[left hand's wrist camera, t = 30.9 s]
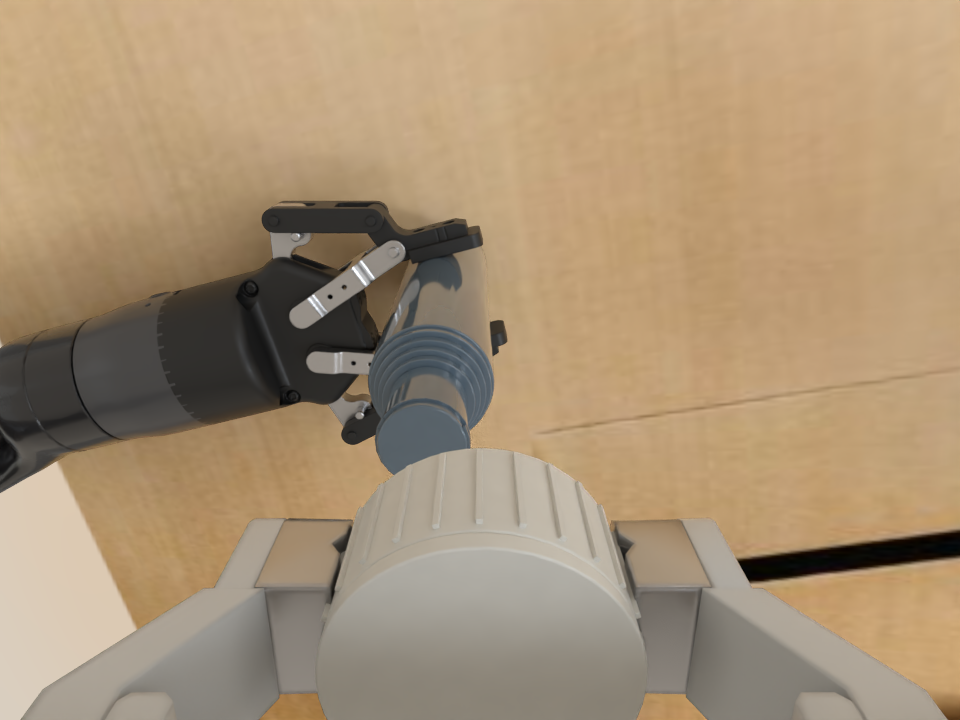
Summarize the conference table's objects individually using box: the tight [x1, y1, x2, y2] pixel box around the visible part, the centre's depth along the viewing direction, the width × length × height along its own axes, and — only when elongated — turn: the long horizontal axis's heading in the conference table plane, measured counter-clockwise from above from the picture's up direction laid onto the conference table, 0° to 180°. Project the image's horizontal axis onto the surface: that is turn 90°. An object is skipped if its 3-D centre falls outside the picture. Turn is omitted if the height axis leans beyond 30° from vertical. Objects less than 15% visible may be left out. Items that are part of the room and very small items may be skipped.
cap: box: [315, 448, 648, 720], centre depth 9 cm, size 4×4×2 cm
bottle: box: [368, 246, 494, 475], centre depth 32 cm, size 5×5×23 cm
